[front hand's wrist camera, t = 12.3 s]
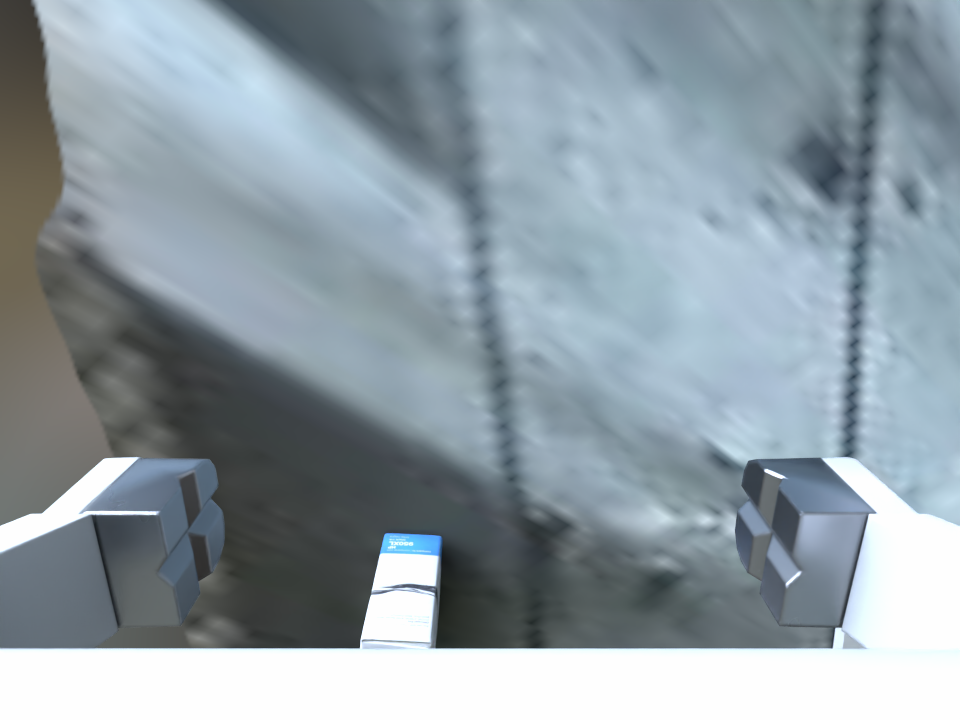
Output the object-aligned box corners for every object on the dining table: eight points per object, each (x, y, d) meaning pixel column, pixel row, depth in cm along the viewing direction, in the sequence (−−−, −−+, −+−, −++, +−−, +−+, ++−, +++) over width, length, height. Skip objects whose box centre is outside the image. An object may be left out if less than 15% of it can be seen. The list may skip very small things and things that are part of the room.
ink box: (382, 530, 53) (357, 639, 42) (444, 534, 53) (435, 643, 42) (380, 615, 56) (355, 737, 45) (438, 619, 56) (428, 741, 45)
